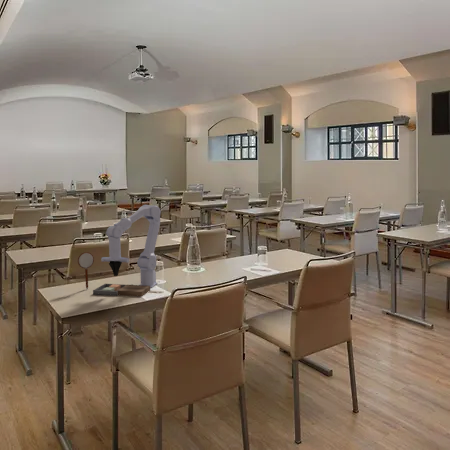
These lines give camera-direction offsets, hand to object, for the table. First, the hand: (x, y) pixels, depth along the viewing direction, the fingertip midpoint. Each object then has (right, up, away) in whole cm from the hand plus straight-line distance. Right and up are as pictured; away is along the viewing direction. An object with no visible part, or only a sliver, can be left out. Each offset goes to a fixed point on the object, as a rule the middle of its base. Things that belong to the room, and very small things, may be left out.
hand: (115, 275), depth 250 cm
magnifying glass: (-18, -8, +10) cm, 22 cm away
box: (-4, -9, +5) cm, 11 cm away
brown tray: (+9, -9, +2) cm, 13 cm away
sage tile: (-4, -7, +1) cm, 8 cm away
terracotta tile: (-2, -6, +7) cm, 9 cm away
